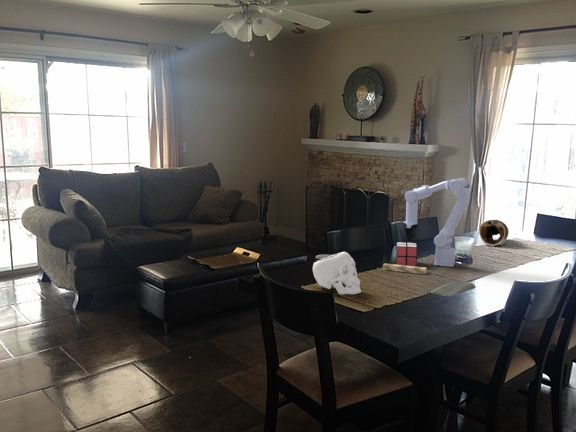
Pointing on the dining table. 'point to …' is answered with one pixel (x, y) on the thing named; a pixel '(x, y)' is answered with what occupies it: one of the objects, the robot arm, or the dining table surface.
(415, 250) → the puzzle cube
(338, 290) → the skull planter
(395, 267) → the board
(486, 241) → the clay pot
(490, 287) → the dining table surface
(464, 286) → the stone slab
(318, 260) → the coffee mug
